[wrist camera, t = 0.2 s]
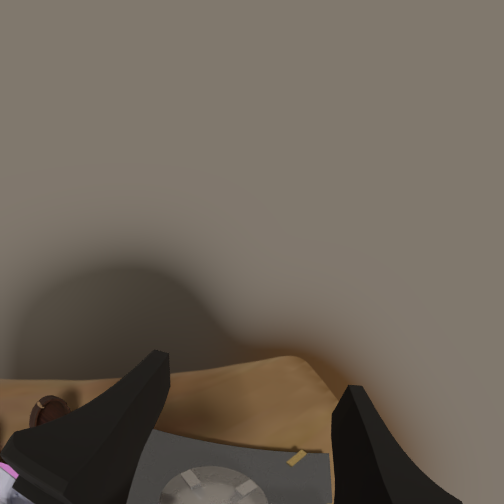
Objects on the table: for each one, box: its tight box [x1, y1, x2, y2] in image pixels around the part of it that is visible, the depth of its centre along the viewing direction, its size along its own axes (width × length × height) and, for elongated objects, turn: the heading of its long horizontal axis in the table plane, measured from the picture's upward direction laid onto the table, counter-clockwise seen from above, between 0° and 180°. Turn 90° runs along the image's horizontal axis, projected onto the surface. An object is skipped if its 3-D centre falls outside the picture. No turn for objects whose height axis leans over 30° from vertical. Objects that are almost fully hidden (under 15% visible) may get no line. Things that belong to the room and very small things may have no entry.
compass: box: [29, 395, 70, 428], centre depth 22 cm, size 8×8×7 cm
